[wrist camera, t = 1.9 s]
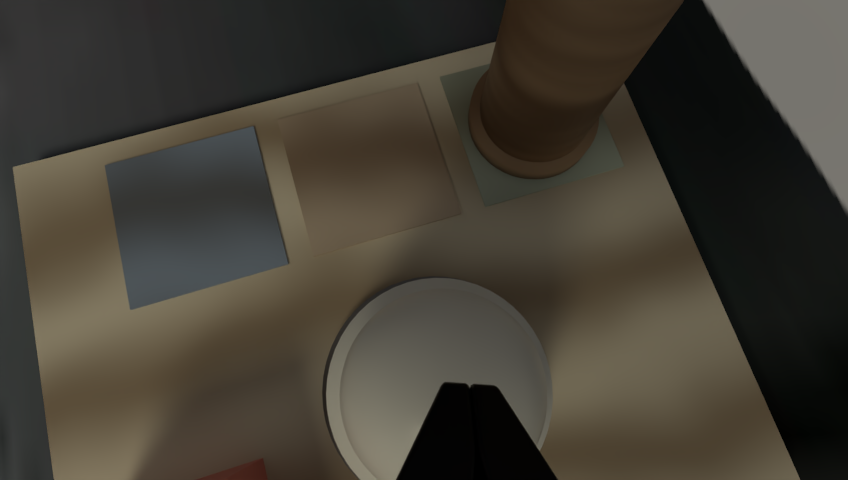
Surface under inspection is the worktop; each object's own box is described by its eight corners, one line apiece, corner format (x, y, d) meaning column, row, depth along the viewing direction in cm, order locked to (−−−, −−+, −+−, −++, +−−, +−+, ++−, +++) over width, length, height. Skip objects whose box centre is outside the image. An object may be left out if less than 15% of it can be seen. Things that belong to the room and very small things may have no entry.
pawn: (611, 159, 22) (865, -113, 10) (491, 194, 21) (599, -47, 9) (566, 52, 23) (741, -312, 11) (451, 82, 22) (500, -263, 10)
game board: (782, 477, 20) (814, 486, 18) (106, 722, 17) (76, 756, 16) (586, 30, 24) (598, 6, 23) (30, 176, 22) (1, 161, 21)
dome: (571, 461, 17) (648, 502, 11) (365, 533, 16) (341, 613, 11) (501, 261, 18) (539, 212, 13) (309, 318, 18) (265, 293, 12)
